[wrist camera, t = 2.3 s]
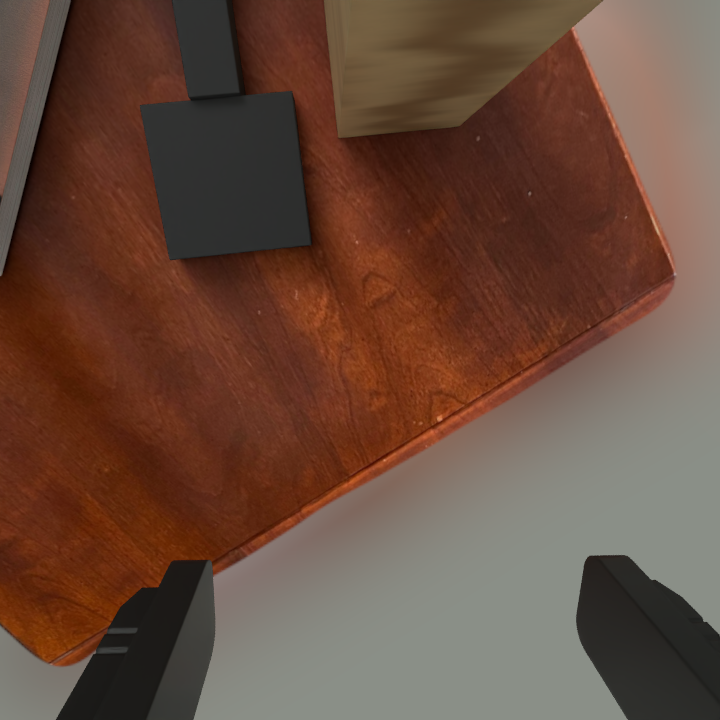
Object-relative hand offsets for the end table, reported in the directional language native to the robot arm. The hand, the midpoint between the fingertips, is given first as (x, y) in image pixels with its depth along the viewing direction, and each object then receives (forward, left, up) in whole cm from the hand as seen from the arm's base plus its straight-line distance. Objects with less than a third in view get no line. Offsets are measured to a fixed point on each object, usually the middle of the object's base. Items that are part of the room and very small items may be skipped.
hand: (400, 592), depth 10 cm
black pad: (+6, -16, -25) cm, 30 cm away
